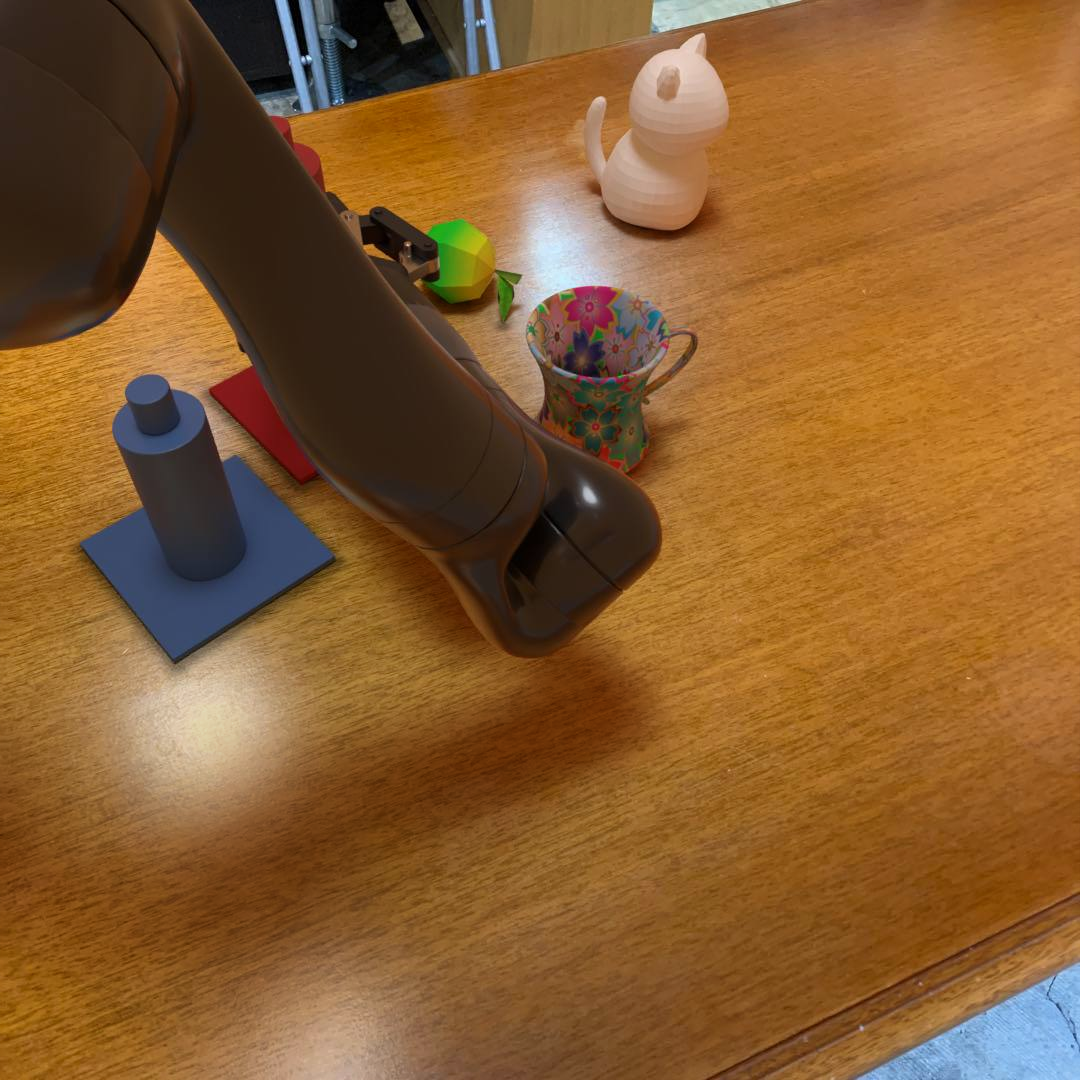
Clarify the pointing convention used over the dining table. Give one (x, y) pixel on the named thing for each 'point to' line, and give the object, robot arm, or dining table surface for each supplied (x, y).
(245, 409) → the red mat
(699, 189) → the cat figurine
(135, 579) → the blue mat
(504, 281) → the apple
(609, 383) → the mug
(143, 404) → the blue bottle
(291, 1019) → the dining table surface
